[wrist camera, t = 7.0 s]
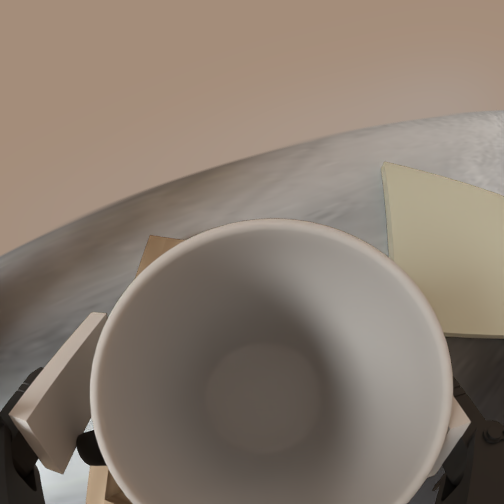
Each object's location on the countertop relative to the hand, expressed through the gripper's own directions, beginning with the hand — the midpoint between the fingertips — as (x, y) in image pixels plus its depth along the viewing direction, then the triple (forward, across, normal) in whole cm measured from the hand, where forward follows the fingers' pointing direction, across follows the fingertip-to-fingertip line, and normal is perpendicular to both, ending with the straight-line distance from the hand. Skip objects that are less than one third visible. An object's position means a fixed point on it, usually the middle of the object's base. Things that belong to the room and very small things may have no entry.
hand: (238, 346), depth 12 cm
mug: (+1, 0, -5) cm, 5 cm away
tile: (+10, +18, +1) cm, 21 cm away
